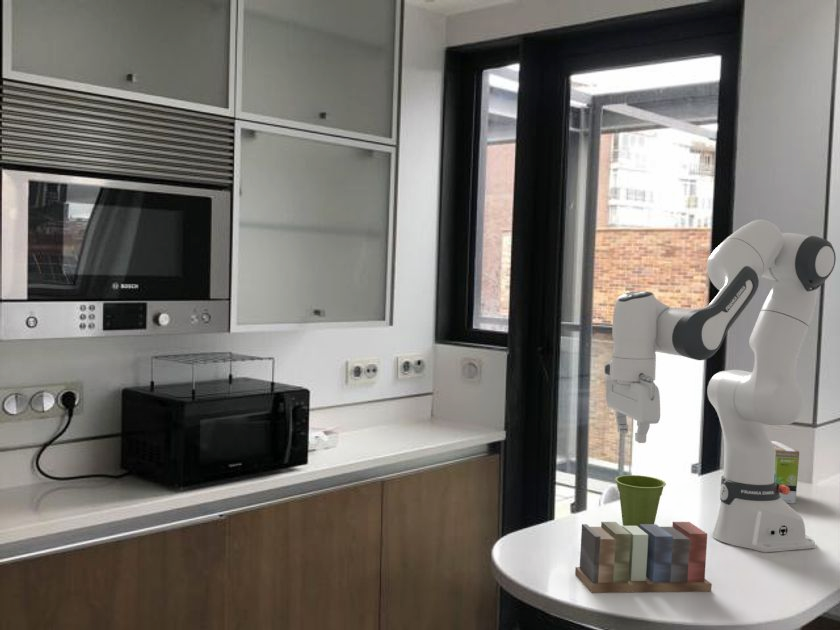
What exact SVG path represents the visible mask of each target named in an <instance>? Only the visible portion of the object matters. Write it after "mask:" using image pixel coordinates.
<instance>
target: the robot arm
mask: <svg viewBox="0 0 840 630" xmlns="http://www.w3.org/2000/svg"><path fill="white" fill-rule="evenodd" d="M836 260H837V259H836V252H835V249H834V246H833V245H832V242H831V241H829V240H828V239H825V238H822V237H820V236H816V235H805V234H801V233H796V232H795V233H794V232H781V230H780V229H779V227H778V226H777V225H776V224H775V223H773V222H771V221H768V220H766V219H755V220H752V221H750V222H749V223H747V224H745V225H743V226H741V227H739V228H738V229H737V230H735V231H734V232H733V233H732V234H730V235H729V236H727V237H726V238H725V239H724V240H723V241H722V242H721V243H720V244H719V245H718V246H717V247H715V249H713V250H712V253H711V254H710V255H709V257H708V258H707V262H706V273H707V275H708V278H709V280H710V282H711V283H712V285H713V286H714V287H715V288H716V289H717V290H718V293H717V294H716V296H714V298H713V299H712V300H711V302H710V303H709V304H708V305H707V306H704V307H701V308H695V309H687V308H676V307H670V306H669V305H666V304H665V303H663V302H661V301H660V300H659V299H657V298H656V297H655V294H654V293H653V292H650V291H646V290H645V291H642V290H640V291H639V290H638V291H629V292H626V293H624V294H621V295H619V297H617V299H616V301H615V304H614V309H613V315H612V329H611V330H612V331H611V333H612V339H613V340H612V341H613V350H612V351H611V360H610V361H609V362H608V363H607V362H606V363H605V364H604V366H603V367H604V368H603V373H604V375H605V376H606V377H605V401H606V405H607V407H608V408H609V409H612V410H613V411H615V414H614V415H615V419H616V423H617V429H616V430H617V432H618V433H620V434H628V432H629V425H628V423H627V417H628V418H630V419H632V420H635V421H636V426H637V430H636V432H635V433H634V434H635V435H634V437H635V438H634V441H635V442H637V443H638V444H645V443H646V442H647V434H648V431H649V429H650V426H651V425H653V424H658V423H659V421H660V420H661V397H660V391H659V387H658V385H656V384H655V380H656V368H657V367H656V364H657V363H656V361H657V356H656V355H657V354H656V353H660V354H667V355H673V356H679V357H684V358H688V359H691V360H696V361H705V360H708V359H710V358H712V357H713V356H714V355H715V354H716V353H717V352H718V350H719V349H720V348H721V346H722V344H723V342H724V339H725V337H726V335H727V333H728V331H730V329H731V327H732V326H733V324H734V323H735V322H736V321H737V319H738V318H739V317H740V316H741V314H742V313H743V311H744V310H745V308H746V307H747V306H748V305H749V304H750V302H751V301H752V299H753V297H754V296H755V295H756V293H757V291H758V287H759V283H760V282H759V278H764V279H767V280H772V288H771V289H770V291H769V293H768V295H767V297H765V298H766V299H765V300H764V302H763V304H762V307H761V308H760V309H761V310H760V312H759V314H758V317H757V320H756V321H755V324H754V327H753V330H752V331H751V334H750V337H749V340H748V343H749V347H750V350H752V352H753V353H754V364H753V369H752V371H746V370H741V369H728V370H722V371H721V370H720V371H718V372H717V373H715V374H713V376H712V377H711V378H710V380H709V381H708V385H707V390H706V391H707V392H706V393H707V394H706V395H707V398H708V401H709V402H710V404H711V405H712V406H713V408H714V409H715V411H716V413H717V417H718V418H719V423H720V427H721V430H722V431H721V432H722V436H723V443H724V444H723V445H724V447H723V448H724V451H723V452H724V454H723V455H724V456H723V459H724V460H723V473H722V474H723V475H721V478H720V479H721V480H720V489H719V500H720V506H719V510H718V515H717V518H716V522H715V526H714V529H713V531H712V533H711V534H712V537H713V538H715V540H717V541H720V542H723V543H725V544H727V545H732V546H736V547H741V548H746V549H751V550H755V551H758V552H762V553H771V552H783V551H794V550H795V551H797V550H807V549H808V550H809V549H815V548H816V542H815V540H814V539H813V538H811V537H810V536H808V535H807V534H806V527H805V522H804V519H803V517H802V516H801V515H800V514H799V513H798V512H797V511H796V510H795V509H794V508H792V507H791V506H790V505H789V503H785V502H784V501H783V500H782V499H781V498H780V494H779V492H780V493H782V494H784V495H788V493H790V492H789V491H790V490H788V489H790V488H789V487H788V486H785V485H779V484H778V483H776V482H775V481H774V472H775V456H776V451H775V447H774V445H773V443H772V442H771V441H772V440H771V439H769V436H768V435H767V431H766V429H765V426H764V425H768V426H786V425H791V424H793V423H795V422H797V420H798V419H800V416H801V415H802V413H803V411H804V405H805V397H804V393H803V392H802V390H801V388H800V386H799V384H798V380H797V379H798V377H797V364H798V360H799V359H798V358H799V355H800V352H801V349H802V346H803V345H804V344H803V343H804V341H805V338H806V335H807V332H808V331H809V328H810V325H811V322H812V319H813V316H814V313H815V310H816V309H815V308H816V306H817V305H816V304H817V299H818V293H819V291H818V289H819V288H820V287H821V286H822V285H823V283H824V282H825V281H827V279H829V277H830V276H831V274H832V273H833V271H834V270H835V269H834V268H835V264H836Z"/></svg>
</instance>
